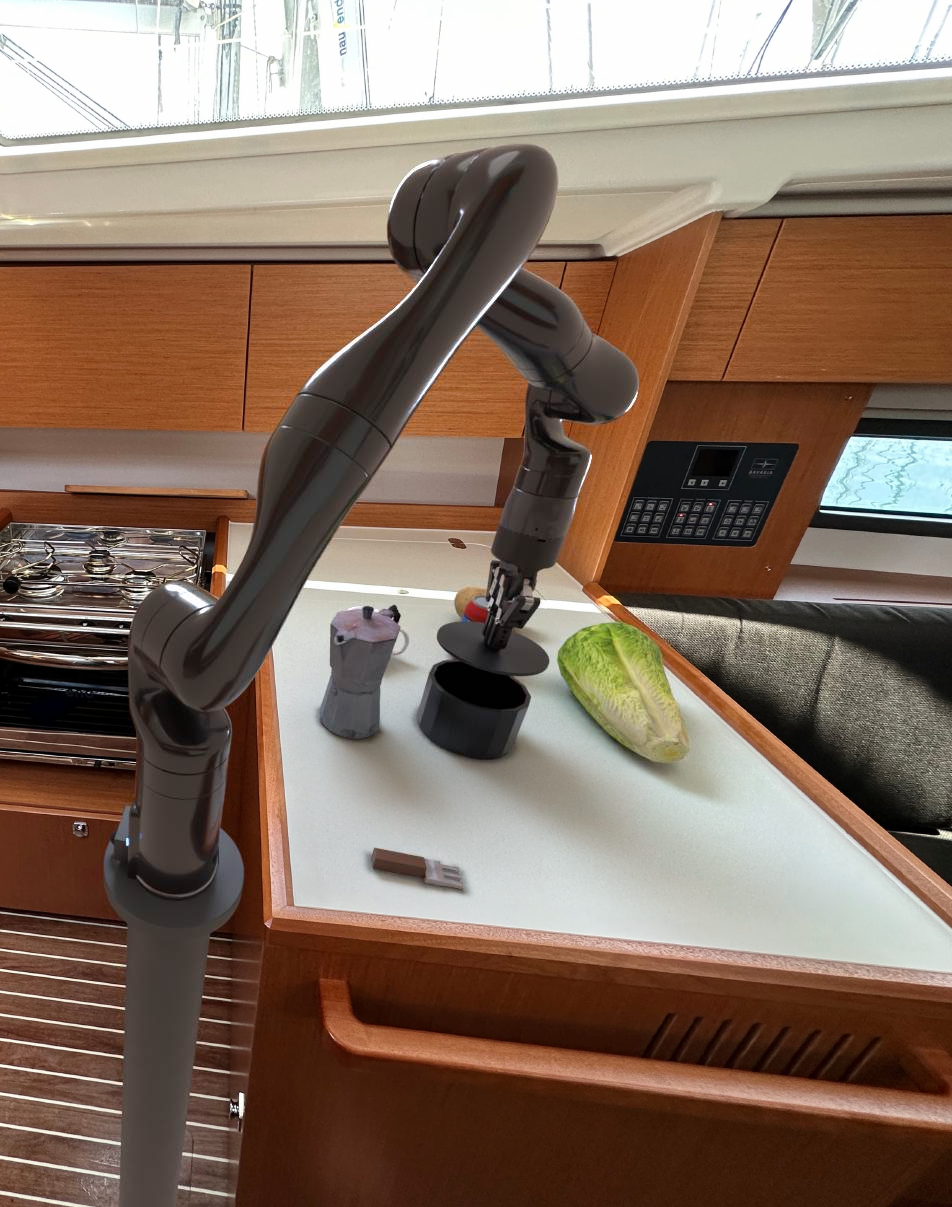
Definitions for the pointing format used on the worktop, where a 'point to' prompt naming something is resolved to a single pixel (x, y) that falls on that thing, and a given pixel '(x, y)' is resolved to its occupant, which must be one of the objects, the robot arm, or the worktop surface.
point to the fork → (417, 867)
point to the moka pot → (358, 669)
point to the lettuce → (625, 689)
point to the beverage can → (476, 610)
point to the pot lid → (492, 649)
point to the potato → (466, 598)
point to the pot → (472, 710)
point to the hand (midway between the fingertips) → (493, 641)
